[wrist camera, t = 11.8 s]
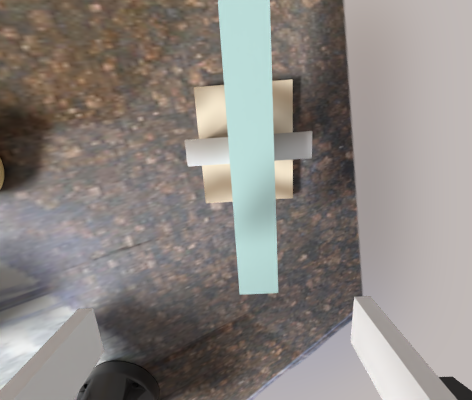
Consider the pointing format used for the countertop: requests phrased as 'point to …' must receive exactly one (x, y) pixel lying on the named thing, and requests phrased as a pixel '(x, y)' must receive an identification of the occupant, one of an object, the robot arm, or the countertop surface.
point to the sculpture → (1, 174)
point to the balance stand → (217, 148)
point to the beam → (250, 139)
